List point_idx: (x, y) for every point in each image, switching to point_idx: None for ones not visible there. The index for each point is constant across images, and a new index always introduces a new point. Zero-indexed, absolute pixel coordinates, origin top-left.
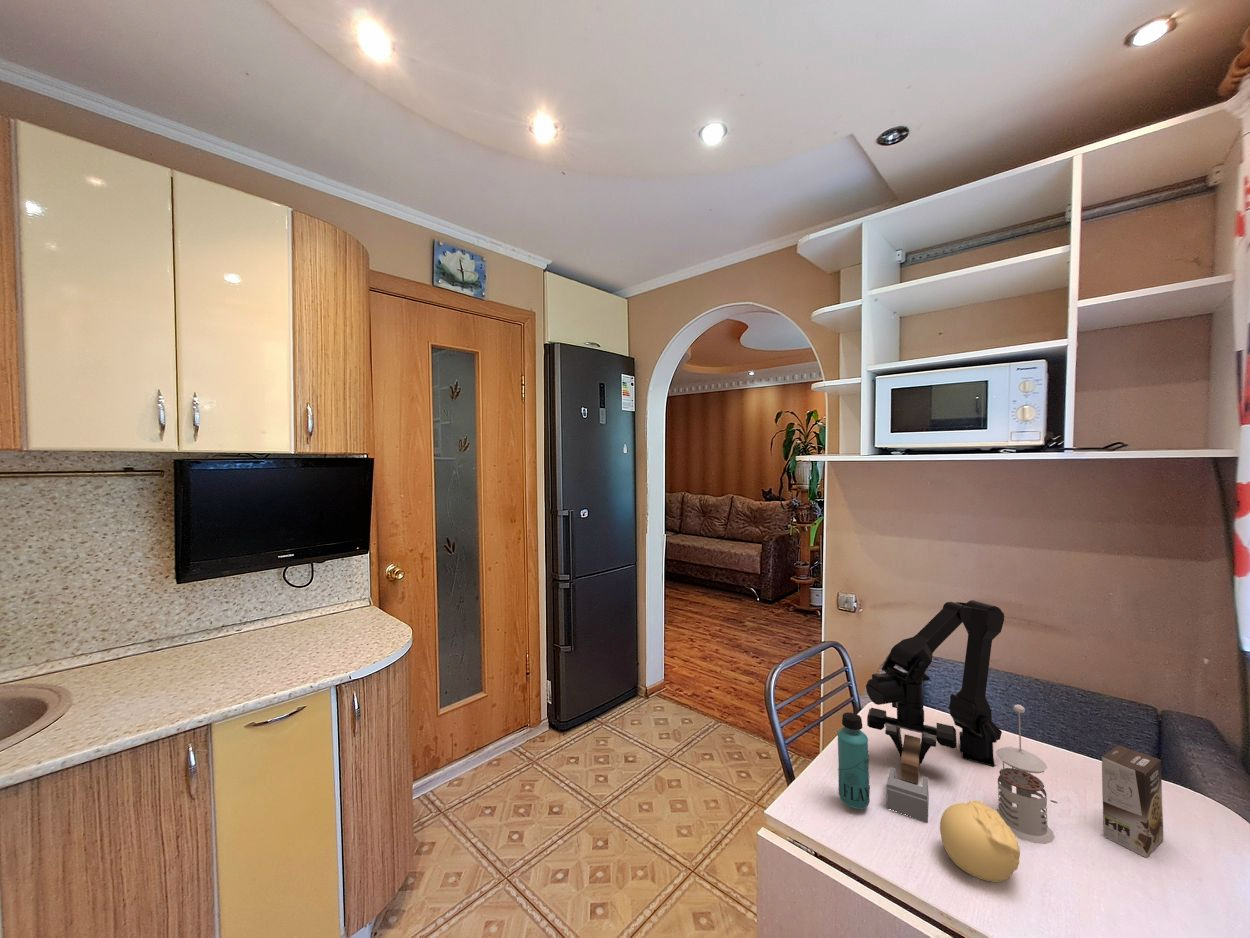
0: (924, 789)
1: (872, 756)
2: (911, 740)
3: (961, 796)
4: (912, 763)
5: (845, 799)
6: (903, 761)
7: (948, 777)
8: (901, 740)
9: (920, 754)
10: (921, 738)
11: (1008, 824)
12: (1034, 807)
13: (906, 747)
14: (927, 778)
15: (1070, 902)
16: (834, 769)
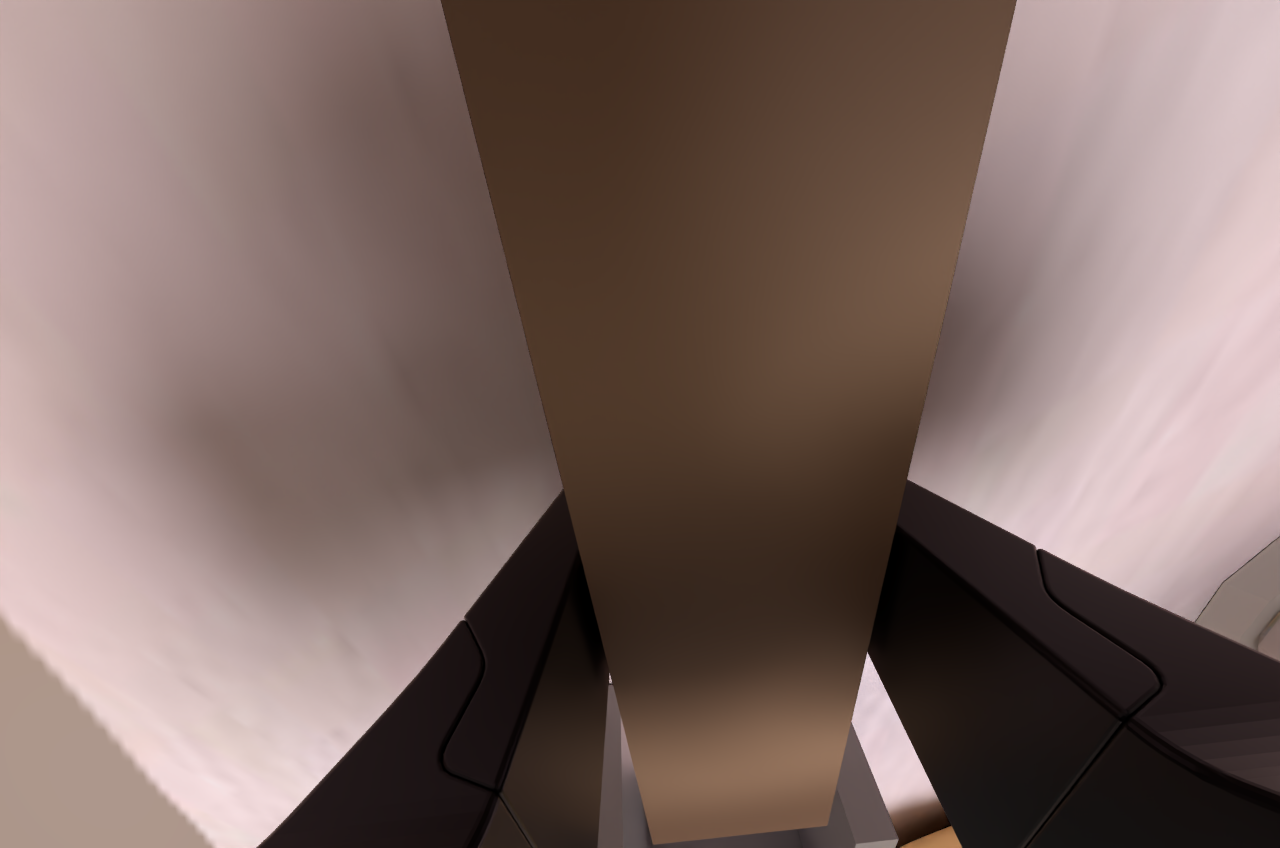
0: None
1: (257, 427)
2: (718, 209)
3: (1074, 529)
4: (772, 812)
5: None
6: (678, 830)
7: (1066, 308)
8: (550, 702)
9: (897, 697)
10: (1216, 797)
11: None
12: None
13: (657, 600)
14: (891, 842)
15: None
16: (215, 735)
